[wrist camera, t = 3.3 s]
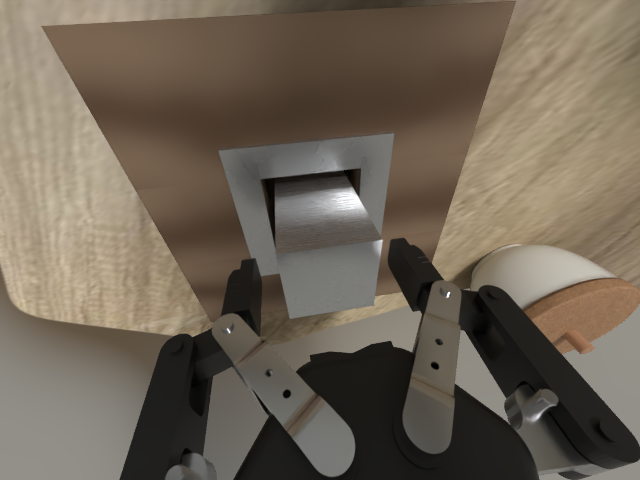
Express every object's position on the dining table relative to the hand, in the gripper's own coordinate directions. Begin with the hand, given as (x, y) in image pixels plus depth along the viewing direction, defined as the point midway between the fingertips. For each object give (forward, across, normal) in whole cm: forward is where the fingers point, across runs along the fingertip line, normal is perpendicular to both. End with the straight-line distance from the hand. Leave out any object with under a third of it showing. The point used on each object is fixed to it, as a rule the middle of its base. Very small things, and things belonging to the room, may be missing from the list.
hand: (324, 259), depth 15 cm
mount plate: (+8, 0, 0) cm, 8 cm away
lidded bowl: (+8, -23, +13) cm, 28 cm away
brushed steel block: (+8, 0, 0) cm, 8 cm away
